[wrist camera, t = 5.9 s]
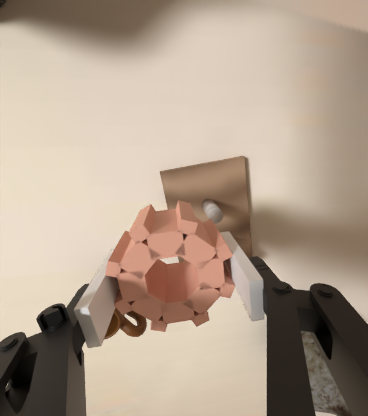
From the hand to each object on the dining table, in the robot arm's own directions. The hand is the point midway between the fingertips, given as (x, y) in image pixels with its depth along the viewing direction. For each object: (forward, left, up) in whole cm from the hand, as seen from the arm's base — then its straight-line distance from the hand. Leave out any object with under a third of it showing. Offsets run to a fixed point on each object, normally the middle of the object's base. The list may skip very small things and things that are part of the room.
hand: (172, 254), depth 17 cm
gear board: (+7, +6, -18) cm, 20 cm away
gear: (0, 0, -1) cm, 1 cm away
